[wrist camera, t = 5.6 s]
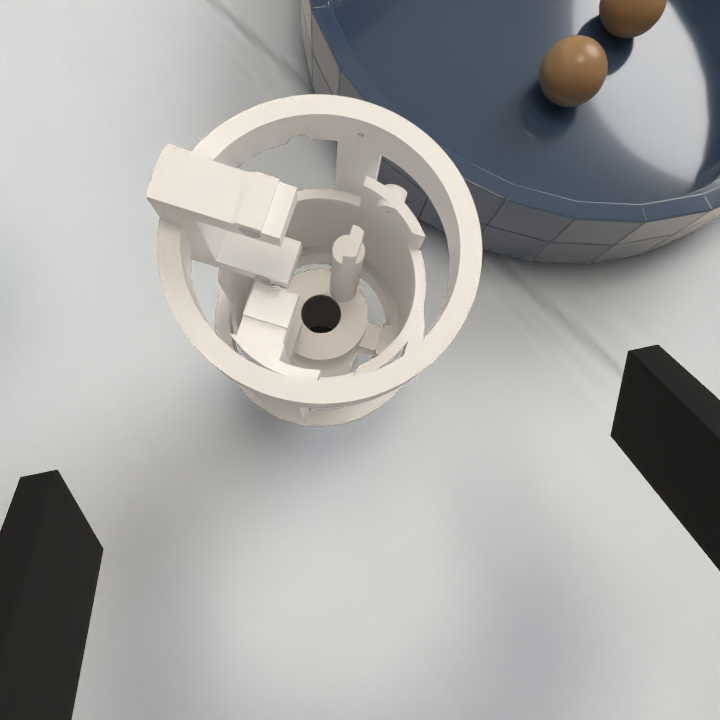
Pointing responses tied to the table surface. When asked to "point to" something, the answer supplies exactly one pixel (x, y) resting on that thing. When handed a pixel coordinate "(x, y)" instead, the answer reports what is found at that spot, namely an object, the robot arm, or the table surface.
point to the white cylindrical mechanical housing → (313, 256)
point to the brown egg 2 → (630, 16)
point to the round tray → (540, 116)
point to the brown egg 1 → (573, 71)
